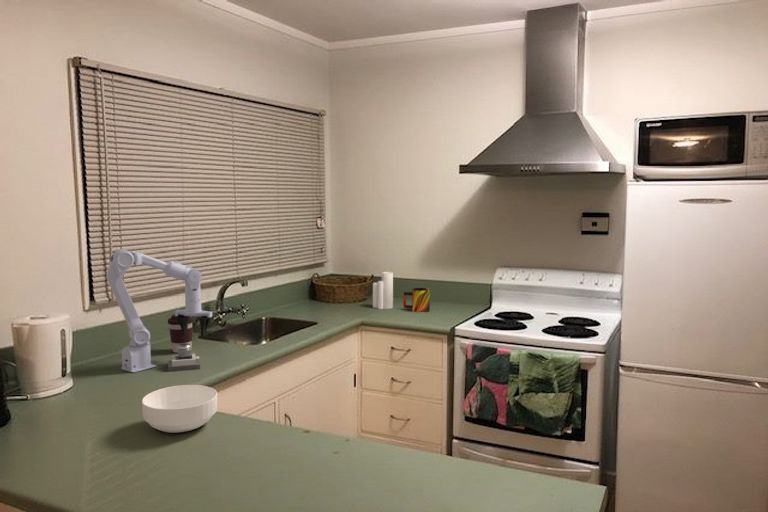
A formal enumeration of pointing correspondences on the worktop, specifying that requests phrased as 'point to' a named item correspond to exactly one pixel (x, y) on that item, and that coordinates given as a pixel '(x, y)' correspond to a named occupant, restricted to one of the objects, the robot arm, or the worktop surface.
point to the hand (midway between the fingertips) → (194, 334)
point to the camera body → (183, 363)
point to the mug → (418, 300)
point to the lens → (184, 351)
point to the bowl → (179, 407)
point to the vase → (383, 292)
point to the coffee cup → (180, 333)
